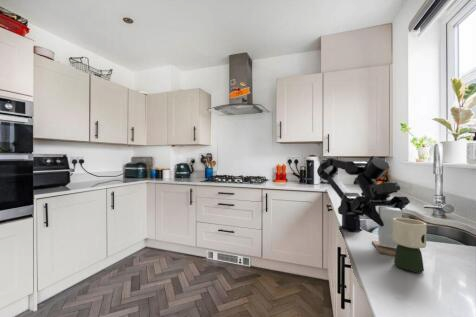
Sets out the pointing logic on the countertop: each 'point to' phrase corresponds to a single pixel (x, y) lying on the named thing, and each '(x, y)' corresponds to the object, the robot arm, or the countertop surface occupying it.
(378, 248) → the curved brown sheet
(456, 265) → the countertop surface
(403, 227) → the character mug
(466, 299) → the countertop surface
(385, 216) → the skincare box
